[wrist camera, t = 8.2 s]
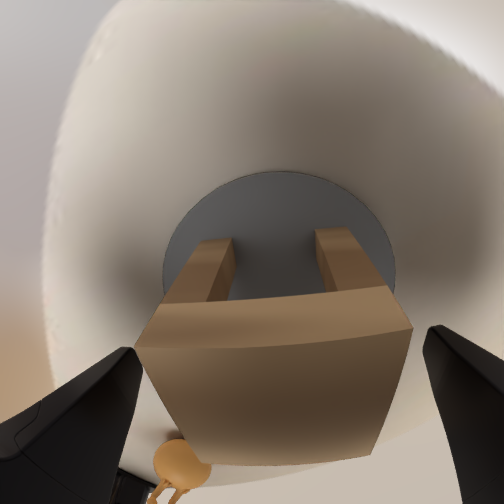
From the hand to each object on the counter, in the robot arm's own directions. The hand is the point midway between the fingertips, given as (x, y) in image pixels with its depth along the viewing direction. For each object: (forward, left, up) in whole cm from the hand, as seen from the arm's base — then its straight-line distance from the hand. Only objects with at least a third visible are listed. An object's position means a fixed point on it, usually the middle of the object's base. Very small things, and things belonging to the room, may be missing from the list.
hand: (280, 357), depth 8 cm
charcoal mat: (0, 0, -4) cm, 4 cm away
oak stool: (0, 0, -3) cm, 3 cm away
